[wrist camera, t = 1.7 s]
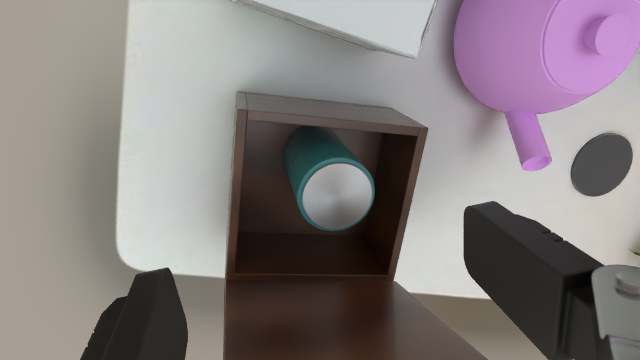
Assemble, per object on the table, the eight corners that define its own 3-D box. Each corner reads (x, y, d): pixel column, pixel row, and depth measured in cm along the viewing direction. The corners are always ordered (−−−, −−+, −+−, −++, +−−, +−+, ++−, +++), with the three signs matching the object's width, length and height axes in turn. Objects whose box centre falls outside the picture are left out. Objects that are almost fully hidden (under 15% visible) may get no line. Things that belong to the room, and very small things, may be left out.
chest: (236, 91, 35) (237, 108, 27) (392, 108, 38) (428, 127, 31) (226, 234, 39) (224, 281, 32) (366, 238, 42) (393, 282, 35)
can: (270, 146, 36) (282, 188, 27) (322, 112, 36) (352, 143, 27) (302, 192, 38) (324, 247, 29) (352, 161, 38) (389, 205, 29)
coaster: (563, 157, 43) (566, 158, 43) (621, 120, 43) (625, 121, 43) (580, 206, 46) (583, 208, 46) (635, 172, 46) (638, 173, 45)
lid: (223, 389, 18) (216, 499, 18) (507, 375, 21) (496, 469, 21) (225, 279, 31) (220, 343, 32) (395, 281, 35) (390, 338, 35)
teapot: (419, 142, 39) (481, 182, 29) (473, -103, 33) (575, -157, 23) (544, 152, 42) (637, 192, 32) (616, -70, 36) (760, -104, 26)
